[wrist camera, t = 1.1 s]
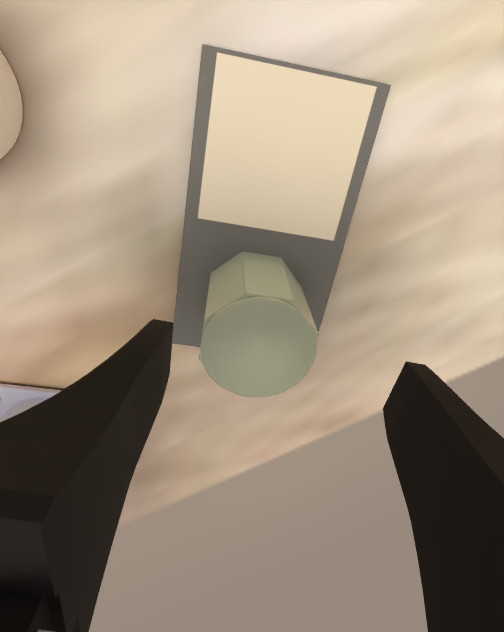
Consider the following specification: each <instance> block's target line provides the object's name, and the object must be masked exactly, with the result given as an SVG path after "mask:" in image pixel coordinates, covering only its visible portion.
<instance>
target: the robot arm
mask: <svg viewBox="0 0 504 632" xmlns="http://www.w3.org/2000/svg"><path fill="white" fill-rule="evenodd" d="M172 336H173V322H167V321H161V320H155V319H153V320H151V321H150V322H149V323H148V324H147V325H146V326H145V327H144V328H142V329H141V330H140V331H139V332H138V333H137V334H136V335H135V336H134V337H133V338H132V339H131V340H129V341H128V342H127V343H126V344H125V345H124V346H123V347H121V348H120V349H119V350H118V351H117V352H115V353H114V354H113V355H112V356H111V357H109V358H108V359H107V360H106V361H104V362H103V363H102V364H100V365H99V366H98V367H96V368H95V369H93V370H92V371H91V372H89V373H88V374H87V375H85V376H84V377H82V378H81V379H79V380H78V381H76V382H75V383H73V384H72V385H70V386H69V387H67V388H65V389H64V390H54V389H45V388H36V387H27V386H18V385H9V384H0V397H1V398H0V632H88V631H89V628H90V624H91V620H92V616H93V612H94V609H95V605H96V601H97V597H98V593H99V590H100V586H101V582H102V579H103V575H104V571H105V568H106V564H107V560H108V557H109V553H110V550H111V546H112V543H113V539H114V536H115V532H116V529H117V525H118V522H119V518H120V515H121V511H122V508H123V505H124V501H125V498H126V495H127V491H128V488H129V485H130V481H131V478H132V476H133V473H134V470H135V467H136V465H137V462H138V460H139V457H140V455H141V453H142V450H143V448H144V445H145V443H146V440H147V438H148V435H149V433H150V431H151V428H152V426H153V423H154V421H155V418H156V416H157V413H158V411H159V408H160V406H161V403H162V400H163V396H164V393H165V389H166V385H167V382H168V378H169V374H170V362H171V349H172ZM383 412H384V420H385V427H386V433H387V439H388V443H389V446H390V450H391V453H392V457H393V460H394V464H395V467H396V470H397V474H398V477H399V481H400V484H401V487H402V491H403V494H404V497H405V501H406V504H407V507H408V511H409V516H410V520H411V524H412V529H413V534H414V540H415V546H416V551H417V556H418V562H419V568H420V575H421V582H422V588H423V595H424V603H425V611H426V619H427V627H428V632H504V438H503V437H502V436H500V435H499V434H498V433H497V432H496V431H495V430H493V429H492V428H491V427H490V426H489V425H488V424H487V423H486V422H485V421H484V420H483V419H482V418H480V417H479V416H478V415H477V414H476V413H475V412H474V411H473V410H472V409H471V408H470V407H469V406H468V405H467V404H466V403H465V402H464V401H463V400H462V399H461V398H460V397H458V395H457V394H456V393H455V392H453V390H452V389H451V388H449V387H448V386H447V385H446V384H445V383H444V382H443V381H442V380H441V379H440V378H439V377H438V376H437V375H436V374H435V373H434V372H433V371H432V370H431V369H429V368H428V367H427V366H426V365H423V364H417V363H411V362H405V365H404V367H403V369H402V371H401V373H400V375H399V377H398V379H397V381H396V383H395V385H394V387H393V389H392V391H391V393H390V395H389V397H388V399H387V401H386V403H385V405H384V407H383Z"/></svg>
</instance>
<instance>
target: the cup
mask: <svg viewBox="0 0 504 632" xmlns="http://www.w3.org/2000/svg"><path fill="white" fill-rule="evenodd" d="M22 116H23V108H22V99H21V94H20V90H19V86H18V83H17V80H16V78H15V75H14V73H13V71H12V69H11V67H10V65H9V63H8V62H7V60H6V58H5V57H4V55H3V54H2V52H1V51H0V159H1V158H2V157H3V156H5V155H6V154H7V153H8V152H9V151H10V150H11V148H12V147H13V146H14V144H15V142H16V140H17V138H18V136H19V133H20V130H21V125H22Z"/></svg>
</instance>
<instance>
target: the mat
mask: <svg viewBox="0 0 504 632" xmlns="http://www.w3.org/2000/svg"><path fill="white" fill-rule="evenodd" d="M390 86H391V85H388V84H383V83H379V82H374V81H369V80H365V79H360V78H356V77H351V76H346V75H342V74H337V73H332V72H328V71H323V70H319V69H314V68H309V67H305V66H300V65H296V64H291V63H286V62H282V61H277V60H273V59H268V58H263V57H259V56H254V55H249V54H245V53H240V52H236V51H231V50H226V49H222V48H217V47H213V46H208V45H203V44H202V53H201V63H200V73H199V83H198V92H197V102H196V112H195V122H194V131H193V141H192V151H191V161H190V171H189V180H188V190H187V200H186V210H185V220H184V229H183V239H182V249H181V259H180V268H179V278H178V288H177V298H176V308H175V317H174V327H173V337H172V343H174V344H182V345H189V346H197V347H201V340H202V332H203V325H204V318H205V310H206V303H207V296H208V289H209V282H210V275H211V272H213V271H214V270H216V269H217V268H219V267H220V266H221V265H223V264H224V263H226V262H227V261H229V260H230V259H232V258H233V257H235V256H236V255H237V254H239V253H240V252H243V251H244V252H250V253H257V254H263V255H269V256H276V257H281V258H282V260H283V261H284V262H285V264H286V265H287V267H288V268H289V270H290V271H291V272H292V274H293V275H294V277H295V278H296V280H297V281H298V282H299V284H300V285H301V287H302V290H303V293H304V296H305V298H306V301H307V304H308V307H309V309H310V312H311V315H312V318H313V320H314V323H315V326H316V329H317V331H319V328H320V324H321V321H322V318H323V314H324V311H325V307H326V304H327V301H328V297H329V294H330V290H331V287H332V284H333V280H334V277H335V273H336V270H337V267H338V263H339V260H340V256H341V253H342V250H343V246H344V243H345V239H346V236H347V233H348V229H349V226H350V222H351V219H352V216H353V212H354V209H355V205H356V202H357V199H358V195H359V192H360V188H361V185H362V182H363V178H364V175H365V171H366V168H367V165H368V161H369V158H370V154H371V151H372V148H373V144H374V141H375V137H376V134H377V131H378V127H379V124H380V120H381V117H382V114H383V110H384V107H385V103H386V100H387V97H388V93H389V90H390Z"/></svg>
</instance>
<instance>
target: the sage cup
mask: <svg viewBox="0 0 504 632" xmlns="http://www.w3.org/2000/svg"><path fill="white" fill-rule="evenodd" d="M318 335H319V334H318V331H317V329H316V326H315V323H314V320H313V318H312V315H311V312H310V309H309V307H308V304H307V301H306V298H305V296H304V293H303V290H302V287H301V285H300V284H299V282H298V281H297V280H296V278H295V277H294V275H293V274H292V272H291V271H290V270H289V268H288V267H287V265H286V264H285V262H284V261H283V260H282V258H281V257H276V256H269V255H263V254H257V253H250V252H244V251H243V252H240V253H239V254H237V255H236V256H235V257H233V258H232V259H230V260H229V261H227V262H226V263H224V264H223V265H221V266H220V267H219V268H217V269H216V270H214V271H213V272H211V275H210V282H209V289H208V296H207V303H206V310H205V318H204V325H203V332H202V340H201V347H200V355H199V360H200V361H201V362H202V363H203V365H204V367H205V369H206V371H207V373H208V374H209V375H210V377H211V378H212V379H213V380H214V381H215V382H216V383H217V384H218V385H220V386H221V387H223V388H224V389H226V390H228V391H230V392H233V393H235V394H238V395H242V396H248V397H265V396H271V395H275V394H278V393H281V392H283V391H285V390H287V389H289V388H291V387H293V386H294V385H296V384H297V383H298V382H299V381H300V380H301V379H302V378H303V377H304V376H305V375H306V374H307V372H308V371H309V369H310V368H311V366H312V364H313V361H314V358H315V354H316V342H317V339H318Z"/></svg>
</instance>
